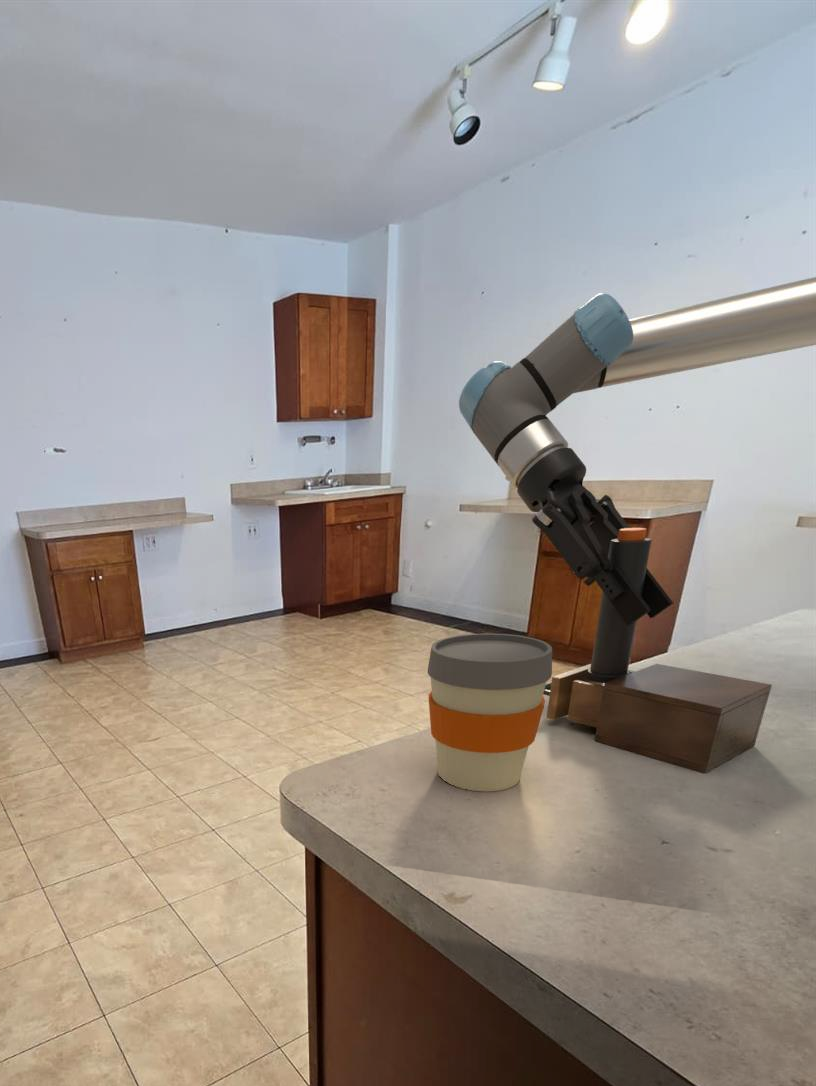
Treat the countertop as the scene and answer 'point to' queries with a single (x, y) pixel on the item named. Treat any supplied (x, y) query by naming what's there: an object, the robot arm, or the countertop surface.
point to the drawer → (575, 697)
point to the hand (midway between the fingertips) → (650, 613)
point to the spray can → (611, 627)
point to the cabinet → (682, 715)
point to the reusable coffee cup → (486, 706)
